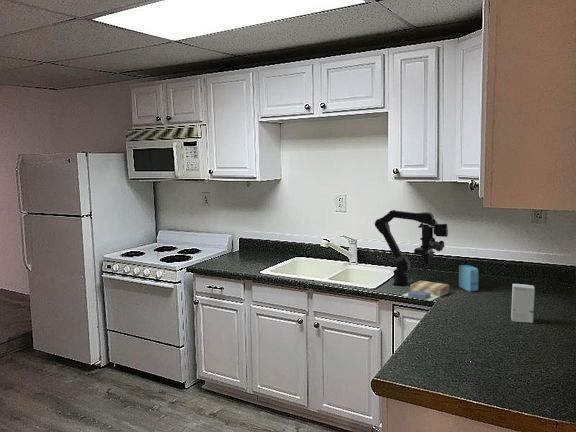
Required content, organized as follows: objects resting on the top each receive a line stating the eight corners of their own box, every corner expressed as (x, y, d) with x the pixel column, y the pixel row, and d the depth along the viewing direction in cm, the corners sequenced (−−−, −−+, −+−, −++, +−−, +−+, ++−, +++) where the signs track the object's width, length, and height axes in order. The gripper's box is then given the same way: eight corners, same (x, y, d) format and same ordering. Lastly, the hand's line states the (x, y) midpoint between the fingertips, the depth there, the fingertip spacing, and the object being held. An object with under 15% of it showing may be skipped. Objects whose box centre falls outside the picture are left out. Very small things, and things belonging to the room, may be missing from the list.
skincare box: (511, 321, 203) (512, 286, 201) (510, 317, 208) (511, 283, 207) (534, 323, 200) (535, 287, 198) (532, 319, 205) (533, 284, 204)
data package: (478, 291, 251) (478, 268, 250) (470, 292, 250) (470, 269, 249) (466, 286, 263) (466, 264, 262) (458, 286, 262) (458, 264, 261)
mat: (401, 295, 247) (401, 295, 247) (410, 292, 254) (410, 291, 254) (431, 300, 237) (431, 300, 237) (439, 296, 243) (439, 296, 243)
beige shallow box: (410, 292, 254) (410, 284, 254) (420, 287, 262) (420, 280, 262) (439, 296, 243) (439, 289, 243) (449, 292, 251) (449, 284, 251)
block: (413, 290, 249) (413, 294, 249) (408, 292, 244) (408, 296, 244) (430, 292, 243) (430, 296, 243) (425, 295, 238) (425, 299, 238)
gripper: (433, 239, 249) (433, 269, 250) (449, 235, 262) (449, 263, 264) (413, 237, 256) (413, 267, 258) (430, 233, 270) (430, 261, 271)
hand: (427, 264), depth 262 cm, fingers closed
